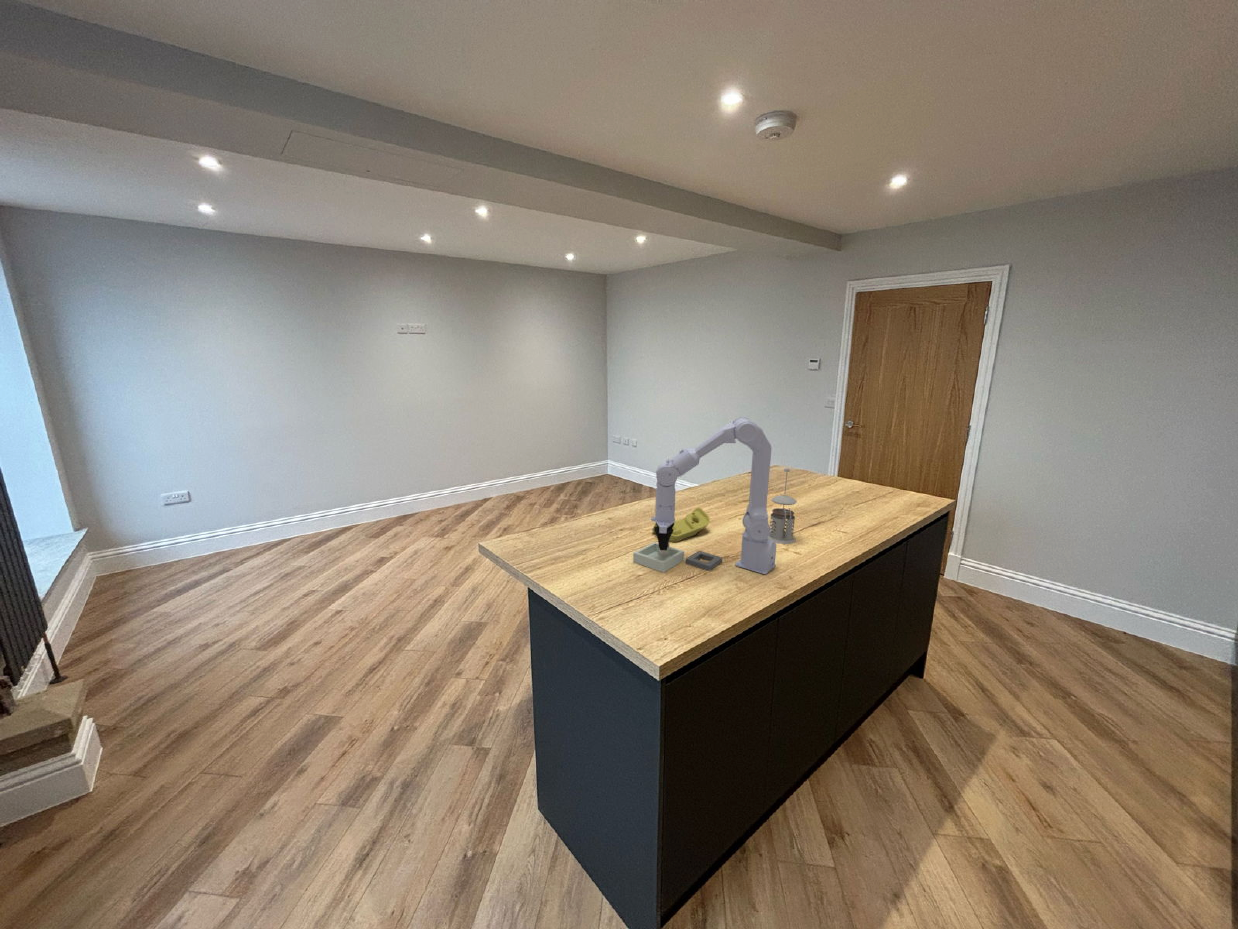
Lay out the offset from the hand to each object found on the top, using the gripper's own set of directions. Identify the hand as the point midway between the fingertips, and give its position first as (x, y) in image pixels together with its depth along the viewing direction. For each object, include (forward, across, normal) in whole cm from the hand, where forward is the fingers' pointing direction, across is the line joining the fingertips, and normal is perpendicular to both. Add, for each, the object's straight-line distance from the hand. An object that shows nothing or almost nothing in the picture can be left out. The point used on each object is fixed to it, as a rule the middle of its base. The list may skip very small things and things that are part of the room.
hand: (663, 547), depth 138 cm
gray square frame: (+4, -1, +12) cm, 13 cm away
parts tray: (+4, 0, -1) cm, 5 cm away
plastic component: (+5, -24, +5) cm, 25 cm away
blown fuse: (+2, 0, 0) cm, 2 cm away
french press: (+5, -25, +39) cm, 46 cm away
